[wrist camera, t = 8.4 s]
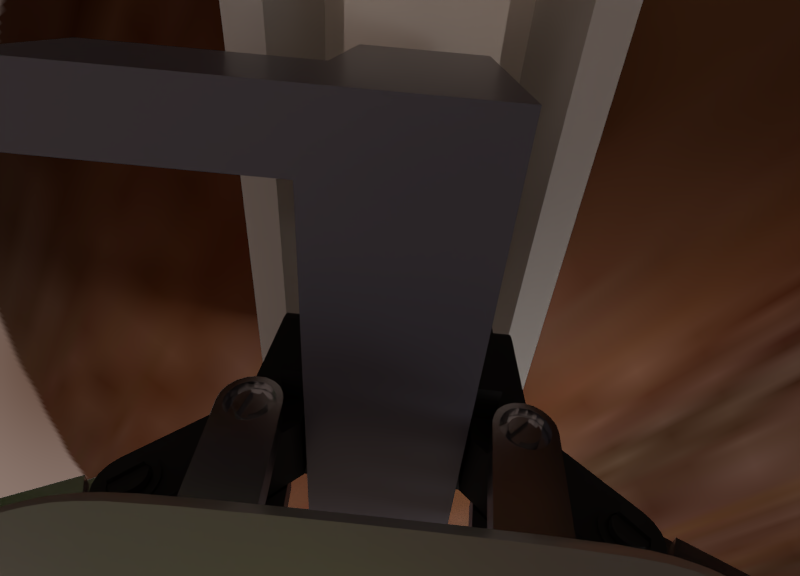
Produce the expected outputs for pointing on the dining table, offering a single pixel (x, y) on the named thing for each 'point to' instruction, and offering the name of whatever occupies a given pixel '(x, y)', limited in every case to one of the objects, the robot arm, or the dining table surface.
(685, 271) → the dining table surface
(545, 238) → the stand
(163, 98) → the grey bracket
